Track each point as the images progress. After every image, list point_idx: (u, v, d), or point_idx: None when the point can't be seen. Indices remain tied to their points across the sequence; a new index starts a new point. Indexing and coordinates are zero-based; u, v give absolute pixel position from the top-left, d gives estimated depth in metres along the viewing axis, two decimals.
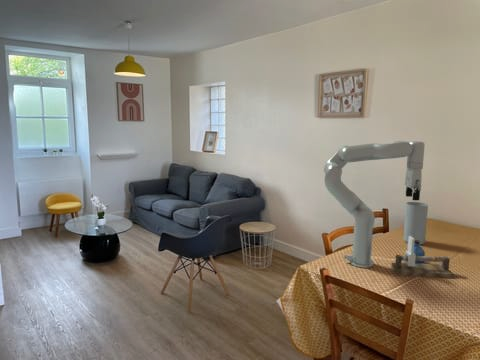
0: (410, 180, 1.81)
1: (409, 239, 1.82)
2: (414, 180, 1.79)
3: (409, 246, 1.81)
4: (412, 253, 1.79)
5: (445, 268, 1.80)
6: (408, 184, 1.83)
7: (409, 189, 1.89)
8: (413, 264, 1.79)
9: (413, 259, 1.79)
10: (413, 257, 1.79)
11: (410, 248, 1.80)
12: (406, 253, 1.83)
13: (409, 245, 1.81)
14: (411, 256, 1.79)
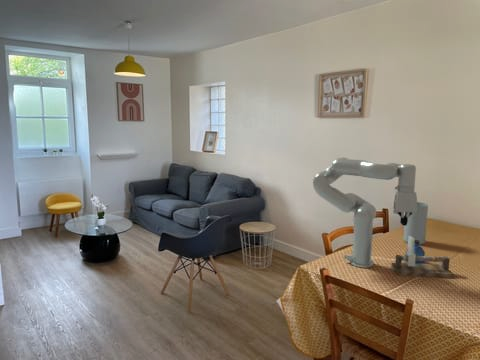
0: (413, 204, 1.75)
1: (409, 239, 1.82)
2: None
3: (409, 246, 1.81)
4: (412, 253, 1.79)
5: (445, 268, 1.80)
6: (409, 209, 1.76)
7: None
8: (413, 264, 1.79)
9: (413, 259, 1.79)
10: (413, 257, 1.79)
11: (410, 248, 1.80)
12: (406, 253, 1.83)
13: (409, 245, 1.81)
14: (411, 256, 1.79)
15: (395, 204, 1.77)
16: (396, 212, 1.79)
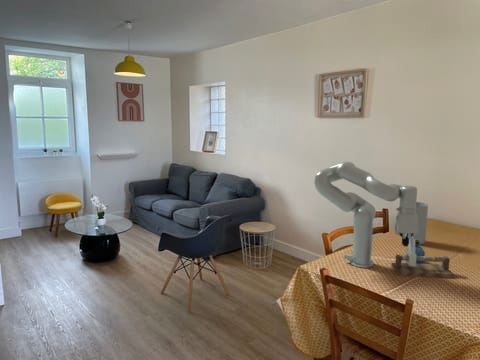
0: (415, 226, 1.77)
1: (410, 239, 1.82)
2: None
3: (410, 246, 1.81)
4: (413, 253, 1.79)
5: (445, 268, 1.80)
6: (410, 230, 1.77)
7: None
8: (414, 264, 1.79)
9: (414, 259, 1.79)
10: (414, 257, 1.79)
11: (411, 248, 1.80)
12: (407, 253, 1.83)
13: (410, 245, 1.81)
14: (412, 256, 1.79)
15: (396, 225, 1.79)
16: (397, 233, 1.80)
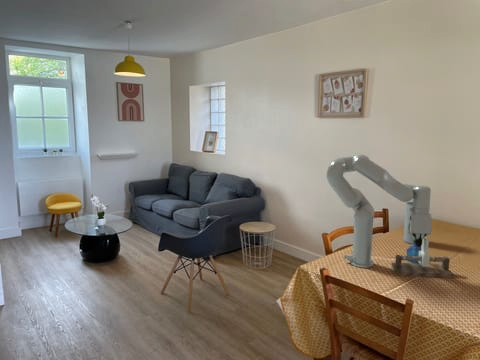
0: (428, 226, 1.76)
1: (423, 239, 1.81)
2: None
3: (423, 246, 1.81)
4: (426, 254, 1.78)
5: (445, 268, 1.80)
6: (424, 231, 1.76)
7: (419, 236, 1.80)
8: (427, 265, 1.79)
9: (427, 260, 1.78)
10: (427, 258, 1.78)
11: (424, 249, 1.80)
12: (420, 253, 1.82)
13: (423, 245, 1.81)
14: (425, 257, 1.78)
15: (410, 225, 1.78)
16: (411, 233, 1.80)
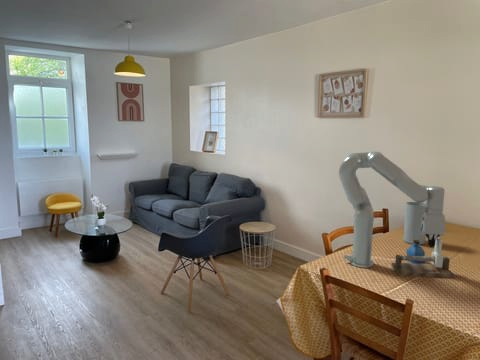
0: (442, 227, 1.75)
1: (436, 240, 1.80)
2: None
3: (436, 247, 1.80)
4: (439, 254, 1.78)
5: (445, 268, 1.80)
6: (437, 231, 1.76)
7: (432, 237, 1.79)
8: (440, 265, 1.78)
9: (440, 260, 1.78)
10: (441, 258, 1.78)
11: (437, 249, 1.79)
12: (433, 254, 1.82)
13: (436, 246, 1.80)
14: (438, 257, 1.78)
15: (423, 226, 1.78)
16: (424, 234, 1.79)
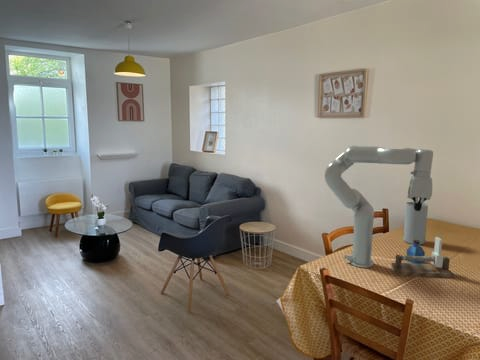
0: (428, 190, 1.74)
1: (436, 240, 1.80)
2: None
3: (436, 247, 1.80)
4: (439, 254, 1.78)
5: (445, 268, 1.80)
6: (424, 194, 1.75)
7: (418, 201, 1.78)
8: (440, 265, 1.78)
9: (440, 260, 1.78)
10: (441, 258, 1.78)
11: (437, 249, 1.79)
12: (433, 254, 1.82)
13: (436, 246, 1.80)
14: (438, 257, 1.78)
15: (410, 189, 1.76)
16: (410, 197, 1.78)
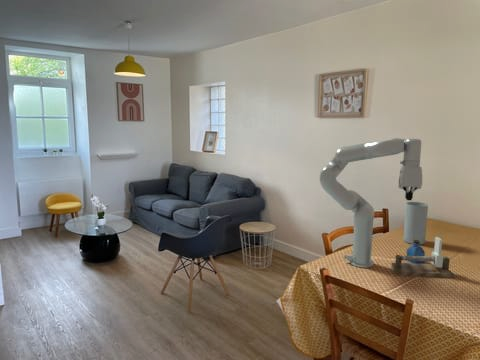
0: (419, 179, 1.75)
1: (436, 240, 1.80)
2: None
3: (436, 247, 1.80)
4: (439, 254, 1.78)
5: (445, 268, 1.80)
6: (414, 183, 1.75)
7: None
8: (440, 265, 1.78)
9: (440, 260, 1.78)
10: (441, 258, 1.78)
11: (437, 249, 1.79)
12: (433, 254, 1.82)
13: (436, 246, 1.80)
14: (438, 257, 1.78)
15: (400, 179, 1.77)
16: (401, 187, 1.79)
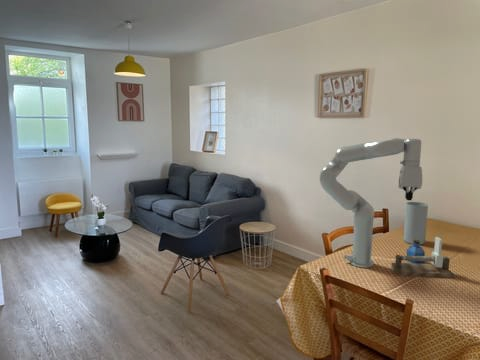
0: (419, 179, 1.75)
1: (436, 240, 1.80)
2: None
3: (436, 247, 1.80)
4: (439, 254, 1.78)
5: (445, 268, 1.80)
6: (414, 183, 1.75)
7: None
8: (440, 265, 1.78)
9: (440, 260, 1.78)
10: (441, 258, 1.78)
11: (437, 249, 1.79)
12: (433, 254, 1.82)
13: (436, 246, 1.80)
14: (438, 257, 1.78)
15: (400, 179, 1.77)
16: (401, 187, 1.79)
